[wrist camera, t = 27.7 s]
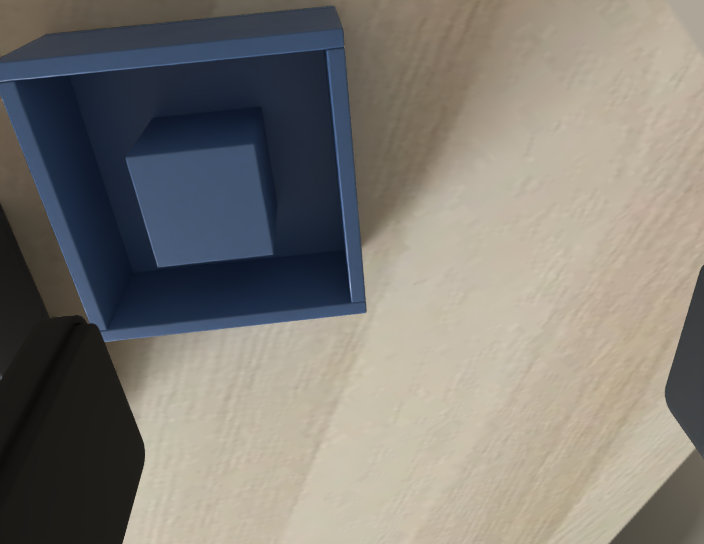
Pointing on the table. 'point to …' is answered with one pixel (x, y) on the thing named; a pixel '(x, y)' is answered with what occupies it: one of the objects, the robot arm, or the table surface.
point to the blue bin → (181, 99)
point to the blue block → (205, 186)
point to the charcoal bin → (15, 297)
